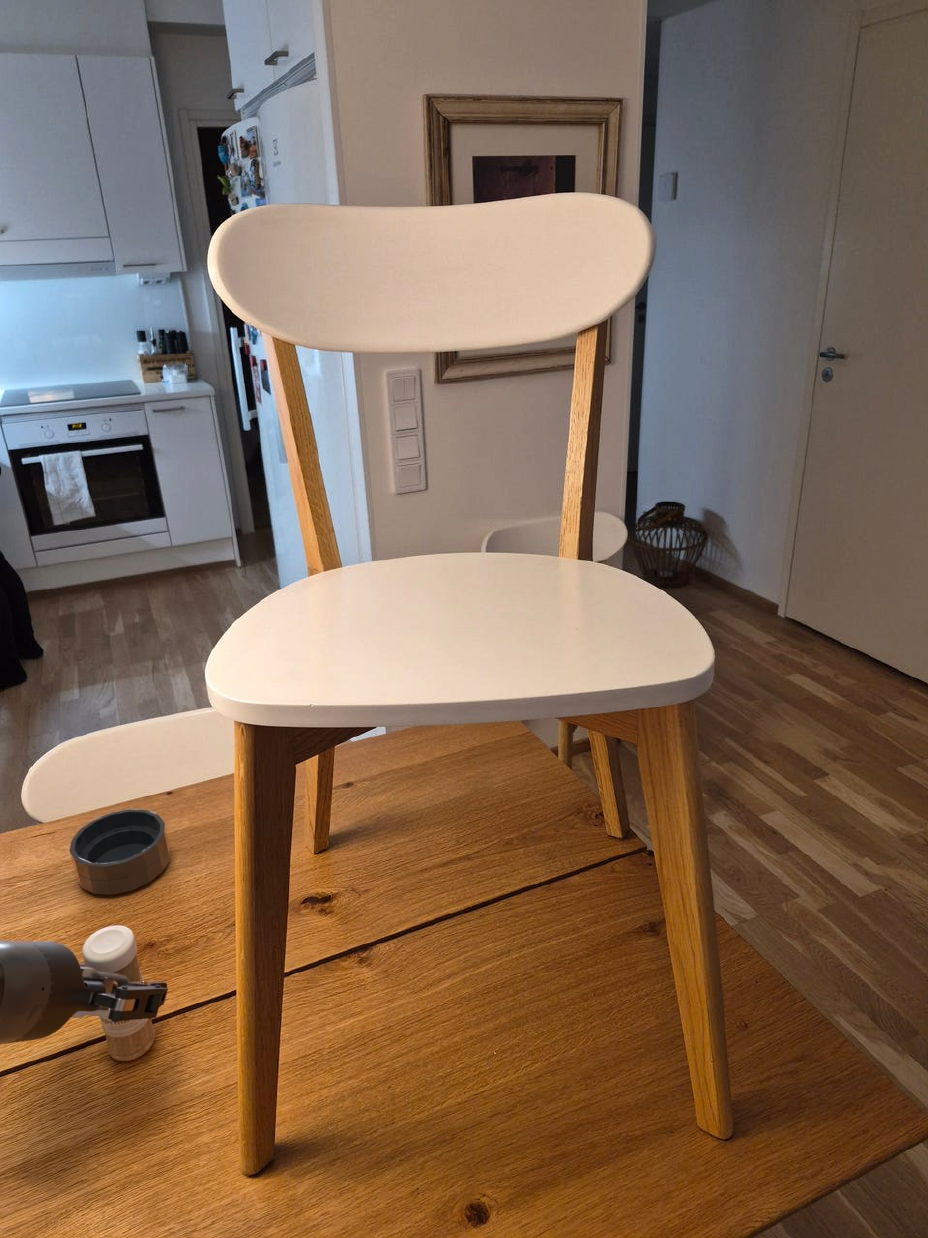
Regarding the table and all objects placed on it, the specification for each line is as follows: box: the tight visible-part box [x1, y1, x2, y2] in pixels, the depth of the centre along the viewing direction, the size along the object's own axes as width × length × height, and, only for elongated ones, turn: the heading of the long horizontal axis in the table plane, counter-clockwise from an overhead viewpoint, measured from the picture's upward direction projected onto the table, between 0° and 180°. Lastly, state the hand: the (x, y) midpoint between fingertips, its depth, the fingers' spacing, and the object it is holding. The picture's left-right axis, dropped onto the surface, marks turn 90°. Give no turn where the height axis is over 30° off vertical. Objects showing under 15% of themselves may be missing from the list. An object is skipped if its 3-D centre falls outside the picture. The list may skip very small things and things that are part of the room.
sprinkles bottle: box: [81, 925, 156, 1062], centre depth 80 cm, size 5×5×13 cm
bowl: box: [69, 808, 171, 896], centre depth 105 cm, size 11×11×5 cm
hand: (123, 985), depth 80 cm, fingers open, 8 cm apart
